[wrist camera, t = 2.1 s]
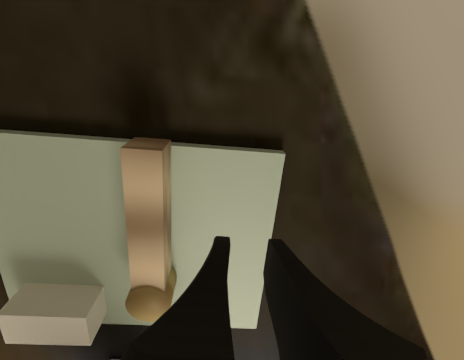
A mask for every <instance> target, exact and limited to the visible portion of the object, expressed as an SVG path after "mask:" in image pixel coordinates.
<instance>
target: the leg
mask: <svg viewBox="0 0 464 360" xmlns="http://www.w3.org/2000/svg"><path fill="white" fill-rule="evenodd" d="M120 154H121V166H122V179H123V192H124V205H125V217H126V230H127V243H128V255H129V268H130V281H131V289H130V291H129V293H128V296H127V298H126V301H125V307H126V310H127V311H128V313H129V314H130V315H131V316H133V317H134V318H136V319H138V320H141V321H145V322H154V321H156V320H157V319H158V318H159V317H161V316H162V315H163V314H164V313H165V312H166V311H167V310H168V309H169V308H170V307H171V303H172V299H173V294H174V290H175V285H176V281H177V275H176V272H175V271H174V269H173V268H172V267H171V140H169V139H155V138H142V137H134V138H133V139H132V140H130V141H129V142H127V143H126V144H125V145H123V146H122V147H121V148H120Z"/></svg>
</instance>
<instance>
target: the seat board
mask: <svg viewBox="0 0 464 360" xmlns="http://www.w3.org/2000/svg"><path fill="white" fill-rule="evenodd" d="M130 140H132V139H123V138H110V137H96V136H83V135H69V134H56V133H43V132H29V131H16V130H2V129H0V273H1V276H2V279H3V282H4V286H5V289H6V292H7V295H8V298H9V300H10V299H11V298H12V297H13V296H14V295H15V294H16V293H17V292H18V291H19V289H20V288H21V287H22V286H23V285H24V284H25V283H49V284H74V285H98V286H104V290H105V298H106V306H107V313H106V315H105V317H104V319H103V321H102V323H101V324H127V325H152V324H153V323H154V322H155V321H154V322H145V321H141V320H138V319H136V318H134V317H133V316H131V315H130V314H129V313H128V311H127V310H126V307H125V301H126V298H127V296H128V293H129V291H130V289H131V281H130V268H129V255H128V243H127V230H126V217H125V205H124V192H123V179H122V166H121V154H120V148H121V147H122V146H123V145H125V144H126V143H127V142H129V141H130ZM284 160H285V153H284V151H283V150H270V149H257V148H244V147H230V146H217V145H203V144H190V143H177V142H171V267H172V268H173V269H174V271H175V272H176V275H177V281H176V285H175V290H174V294H173V299H172V303H171V306H172V305H173V304H174V303H175V302H176V301H177V299H178V298H179V297H180V296H181V295H182V294H183V292H184V291H185V290H186V289H187V287H188V286H189V285H190V284H191V282H192V281H193V279H194V278H195V277H196V275H197V273H198V272H199V270H200V269H201V267H202V265H203V264H204V262H205V260H206V258H207V256H208V254H209V252H210V250H211V247H212V245H213V241H214V238H215V237H216V236H226V237H230V244H231V246H230V256H229V267H228V278H227V282H228V300H229V313H230V325H231V328H249V329H256V326H257V320H258V314H259V308H260V302H261V296H262V290H263V285H264V277H263V270H264V264H265V258H266V252H267V246H268V240H269V239H271V237H272V231H273V225H274V219H275V213H276V207H277V201H278V195H279V189H280V183H281V177H282V172H283V166H284Z"/></svg>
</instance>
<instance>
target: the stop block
mask: <svg viewBox="0 0 464 360" xmlns="http://www.w3.org/2000/svg"><path fill="white" fill-rule="evenodd" d="M106 313H107V306H106V298H105V290H104V286H98V285H74V284H49V283H25V284H24V285H23V286H22V287H21V288H20V289H19V291H18V292H17V293H16V294H15V295H14V296H13V297H12V298H11V299H10V300H9V301H8V302H7V303H6V304H5V305H4V307H3V308H2V309H1V310H0V329H1V332H2V335H3V338H4V341H5V344H40V345H77V346H91V344H92V342H93V340H94V338H95V336H96V334H97V332H98V330H99V328H100V326H101V323H102V321H103V319H104V317H105V315H106Z"/></svg>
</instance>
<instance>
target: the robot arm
mask: <svg viewBox="0 0 464 360" xmlns="http://www.w3.org/2000/svg"><path fill="white" fill-rule="evenodd" d="M230 246H231V244H230V237H226V236H216V237H215V238H214V241H213V245H212V247H211V250H210V252H209V254H208V256H207V258H206V260H205V262H204V264H203V265H202V267H201V269H200V270H199V272H198V273H197V275H196V277H195V278H194V279H193V281H192V282H191V284H190V285H189V286H188V287H187V289H186V290H185V291H184V292H183V294H182V295H181V296H180V297H179V298H178V299H177V301H176V302H175V303H174V304H173V305H172V306H171V307H170V308H169V309H168V310H167V311H166V312H165V313H164V314H163V315H162V316H161V317H159V318H158V319H157V320H156V321H155V322H154V323H153V324H152V325H151V326H149V327H148V328H147V329H146V330H144V331H143V332H142V333H141V334H139V335H138V336H137V337H136V338H134V339H133V340H132V341H131V342H130V343H129V345H128V346H127V348H126V350H125V351H124V353H123V355H122V357H121V359H110V360H235V359H234V351H233V343H232V334H231V325H230V313H229V300H228V282H227V278H228V267H229V256H230ZM263 277H264V286H265V294H266V298H267V302H268V307H269V311H270V315H271V319H272V323H273V327H274V331H275V335H276V339H277V344H278V349H279V356H280V360H432V359H431V357H430V356H429V355H428V353H427V352H426V351H425V350H424V349H423V348H421V347H419V346H417V345H416V344H414V343H412V342H410V341H408V340H406V339H404V338H402V337H400V336H398V335H396V334H395V333H393V332H391V331H389V330H388V329H386V328H384V327H383V326H381V325H379V324H378V323H376V322H374V321H373V320H371V319H370V318H368V317H366V316H365V315H363V314H362V313H360V312H359V311H358V310H356V309H355V308H353V307H352V306H350V305H349V304H348V303H346V302H345V301H344V300H342V299H341V298H340V297H339V296H337V295H336V294H335V293H334V292H332V291H331V290H330V289H329V288H328V287H326V286H325V285H324V284H323V283H322V282H321V281H320V280H319V279H318V278H317V277H316V276H315V275H313V274H312V273H311V272H310V271H309V270H308V269H307V267H306V266H305V265H304V264H303V263H302V262H301V261H300V260H299V259H298V258H297V257H296V256H295V254H294V253H293V252H292V251H291V250H290V249H289V248H288V246H287V245H286V244H285V243H284V242H283V241H282V240H281V239H269V240H268V246H267V252H266V258H265V264H264V270H263Z"/></svg>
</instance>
